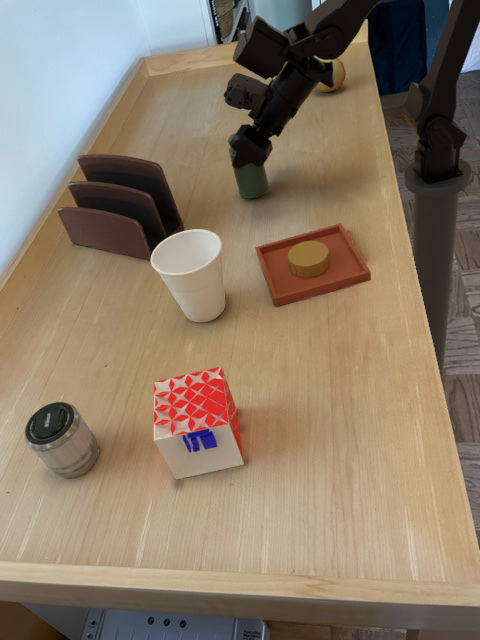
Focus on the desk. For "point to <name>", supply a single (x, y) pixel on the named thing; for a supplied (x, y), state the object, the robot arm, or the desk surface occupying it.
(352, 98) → the desk surface
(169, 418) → the red white patterned cube
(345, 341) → the desk surface
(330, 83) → the robot arm
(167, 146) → the desk surface
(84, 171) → the letter holder
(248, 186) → the jar
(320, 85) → the fruit
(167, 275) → the cup
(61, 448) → the camera lens
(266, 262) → the tray
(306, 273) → the lid
